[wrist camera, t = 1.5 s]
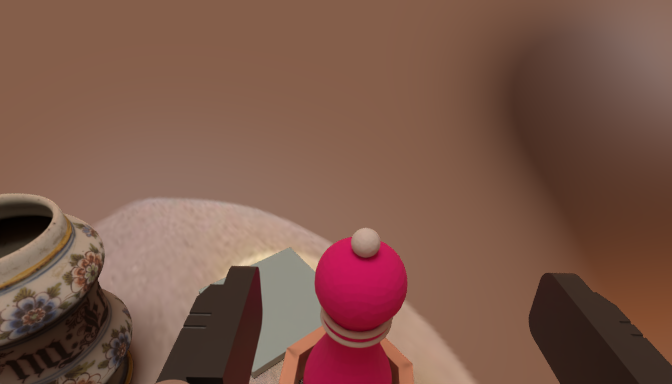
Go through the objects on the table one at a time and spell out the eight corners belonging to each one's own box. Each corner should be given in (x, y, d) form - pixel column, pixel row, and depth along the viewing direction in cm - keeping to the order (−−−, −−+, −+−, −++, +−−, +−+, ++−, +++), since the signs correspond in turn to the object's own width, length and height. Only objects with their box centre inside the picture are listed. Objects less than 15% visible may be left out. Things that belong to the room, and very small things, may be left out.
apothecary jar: (163, 327, 39) (117, 179, 29) (114, 462, 29) (19, 306, 19) (38, 329, 38) (-53, 175, 28) (-57, 468, 28) (-250, 308, 18)
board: (199, 296, 43) (198, 290, 42) (290, 252, 49) (289, 247, 49) (253, 378, 35) (252, 372, 35) (351, 314, 42) (351, 308, 41)
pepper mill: (379, 368, 37) (416, 198, 26) (389, 452, 31) (442, 278, 20) (304, 366, 37) (308, 194, 25) (300, 451, 31) (302, 274, 19)
